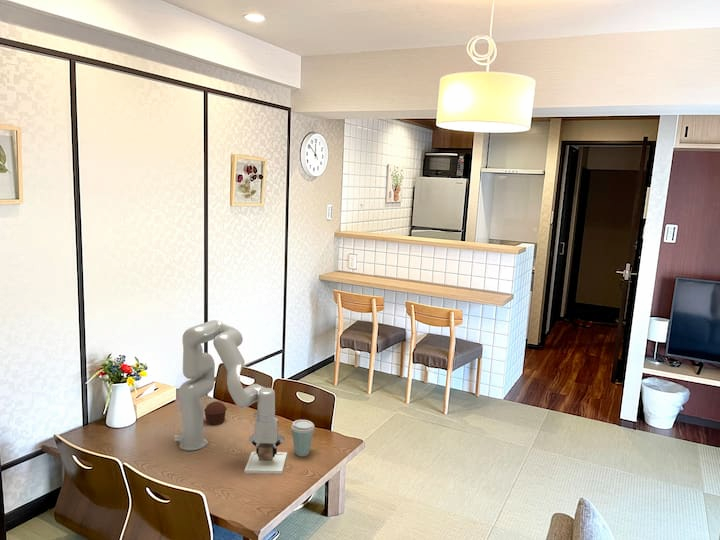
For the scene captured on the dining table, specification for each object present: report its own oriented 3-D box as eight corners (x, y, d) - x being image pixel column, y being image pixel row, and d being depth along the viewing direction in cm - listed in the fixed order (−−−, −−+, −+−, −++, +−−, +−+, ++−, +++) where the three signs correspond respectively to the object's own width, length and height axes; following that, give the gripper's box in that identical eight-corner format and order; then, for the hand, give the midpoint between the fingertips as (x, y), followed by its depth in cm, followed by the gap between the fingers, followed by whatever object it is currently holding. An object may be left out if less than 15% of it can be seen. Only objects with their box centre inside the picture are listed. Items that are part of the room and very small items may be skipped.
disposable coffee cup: (304, 445, 257) (304, 415, 254) (319, 453, 249) (319, 423, 247) (286, 452, 249) (286, 422, 247) (300, 461, 242) (301, 430, 239)
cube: (258, 460, 236) (258, 447, 235) (261, 453, 242) (260, 441, 241) (272, 460, 236) (272, 448, 235) (274, 454, 242) (274, 441, 241)
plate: (244, 473, 231) (244, 470, 231) (251, 454, 247) (251, 451, 247) (282, 474, 231) (282, 470, 231) (287, 455, 247) (286, 452, 247)
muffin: (202, 418, 282) (202, 400, 281) (224, 415, 287) (224, 397, 285) (206, 428, 272) (206, 409, 270) (228, 424, 276) (228, 406, 275)
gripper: (244, 420, 232) (245, 459, 235) (285, 420, 232) (285, 460, 235) (248, 412, 239) (248, 450, 242) (287, 413, 239) (287, 451, 242)
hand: (266, 454), depth 238 cm, fingers closed on cube, 6 cm apart
